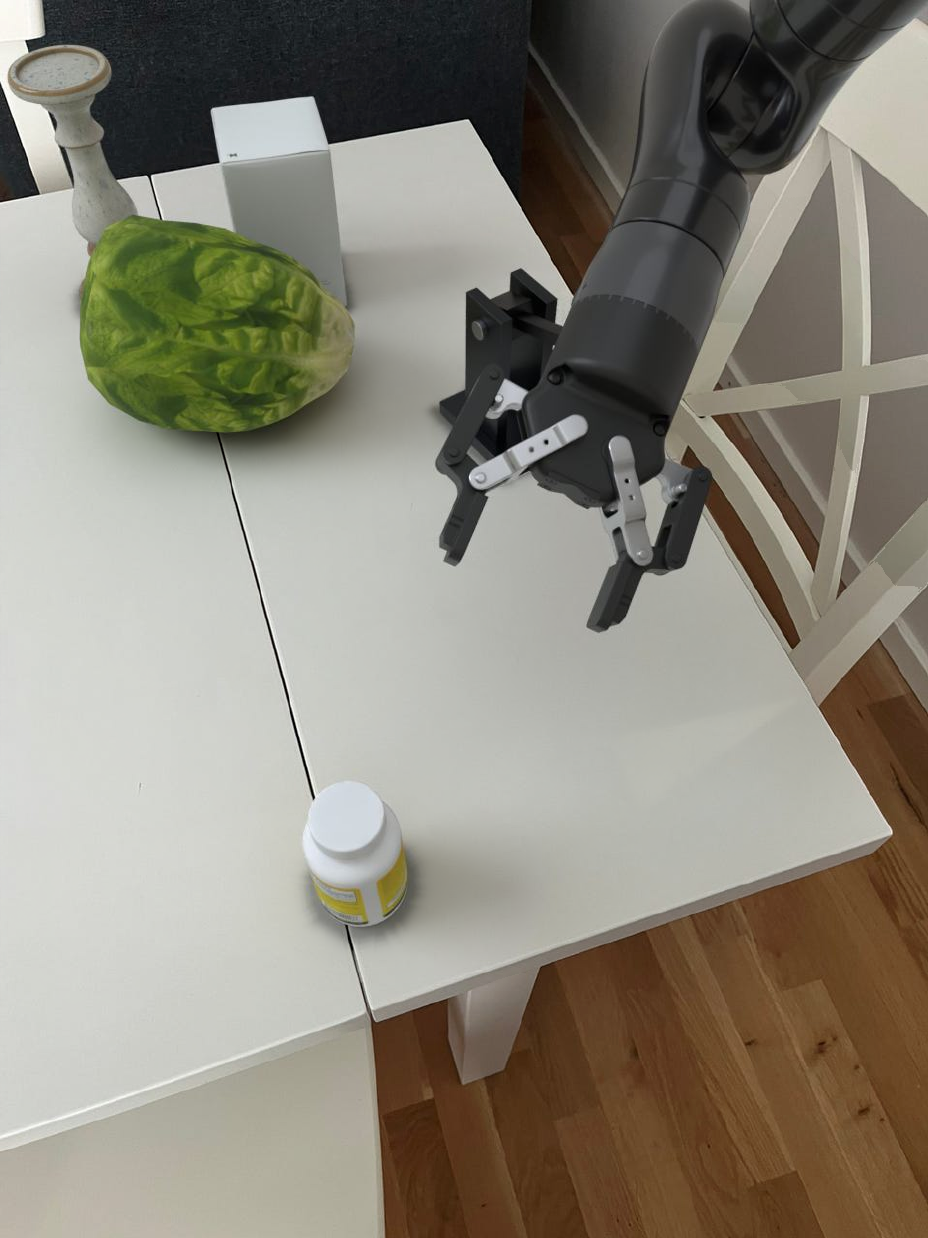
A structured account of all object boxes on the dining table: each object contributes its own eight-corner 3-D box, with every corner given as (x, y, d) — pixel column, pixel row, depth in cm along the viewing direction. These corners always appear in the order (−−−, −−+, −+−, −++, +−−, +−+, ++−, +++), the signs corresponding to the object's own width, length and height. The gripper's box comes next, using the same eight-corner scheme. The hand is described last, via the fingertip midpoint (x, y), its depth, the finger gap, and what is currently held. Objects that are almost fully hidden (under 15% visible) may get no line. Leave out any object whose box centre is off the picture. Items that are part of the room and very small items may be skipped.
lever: (644, 376, 65) (641, 330, 63) (606, 395, 64) (602, 349, 62) (519, 323, 75) (513, 282, 73) (485, 339, 74) (478, 298, 72)
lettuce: (334, 496, 80) (380, 332, 70) (58, 450, 74) (66, 263, 64) (327, 386, 91) (367, 230, 81) (88, 338, 85) (98, 163, 75)
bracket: (572, 441, 80) (589, 310, 70) (502, 477, 78) (509, 347, 67) (506, 379, 84) (513, 247, 74) (439, 412, 82) (435, 280, 72)
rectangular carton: (350, 308, 90) (332, 149, 78) (251, 323, 89) (217, 164, 76) (334, 250, 95) (315, 92, 83) (241, 263, 94) (208, 104, 81)
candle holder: (199, 288, 91) (141, 60, 75) (128, 338, 87) (50, 108, 71) (133, 254, 94) (63, 28, 78) (61, 301, 90) (-28, 72, 74)
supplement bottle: (394, 829, 61) (383, 756, 53) (419, 912, 58) (412, 847, 50) (308, 856, 60) (284, 785, 52) (329, 941, 57) (307, 880, 49)
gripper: (536, 240, 50) (411, 525, 47) (779, 363, 52) (672, 645, 49) (503, 302, 57) (392, 552, 55) (716, 408, 59) (620, 655, 56)
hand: (525, 596), depth 52 cm, fingers open, 8 cm apart
